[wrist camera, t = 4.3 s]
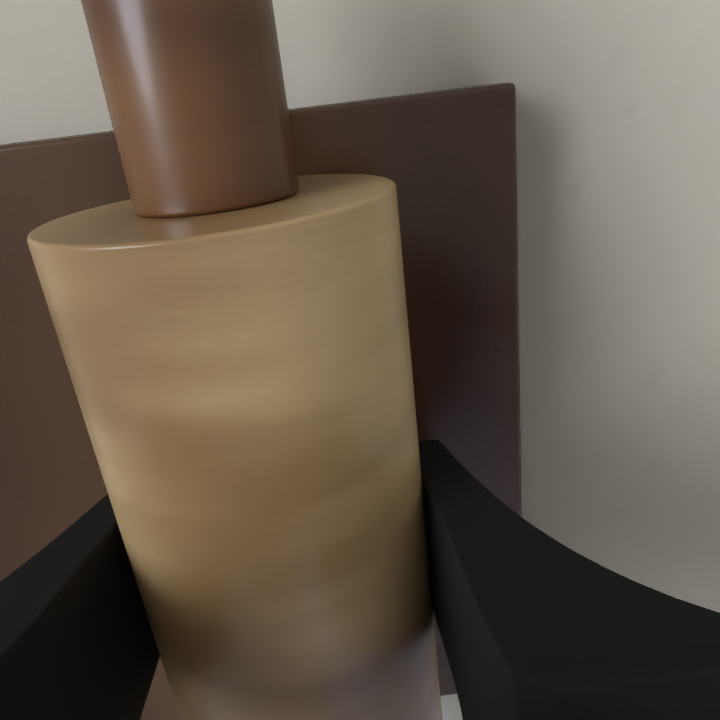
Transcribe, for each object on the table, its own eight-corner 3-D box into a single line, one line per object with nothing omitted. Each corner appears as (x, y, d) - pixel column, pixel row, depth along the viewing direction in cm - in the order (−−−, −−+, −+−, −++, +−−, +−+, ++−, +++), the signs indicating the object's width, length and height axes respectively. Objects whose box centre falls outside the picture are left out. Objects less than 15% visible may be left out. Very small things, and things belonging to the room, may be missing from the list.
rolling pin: (355, -158, 9) (365, -413, 4) (442, 790, 17) (477, 1036, 12) (24, -114, 9) (-287, -320, 5) (267, 806, 17) (240, 1056, 13)
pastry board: (493, 83, 12) (516, 81, 10) (509, 639, 17) (525, 686, 16) (-146, 163, 12) (-210, 171, 10) (73, 694, 17) (51, 747, 16)
